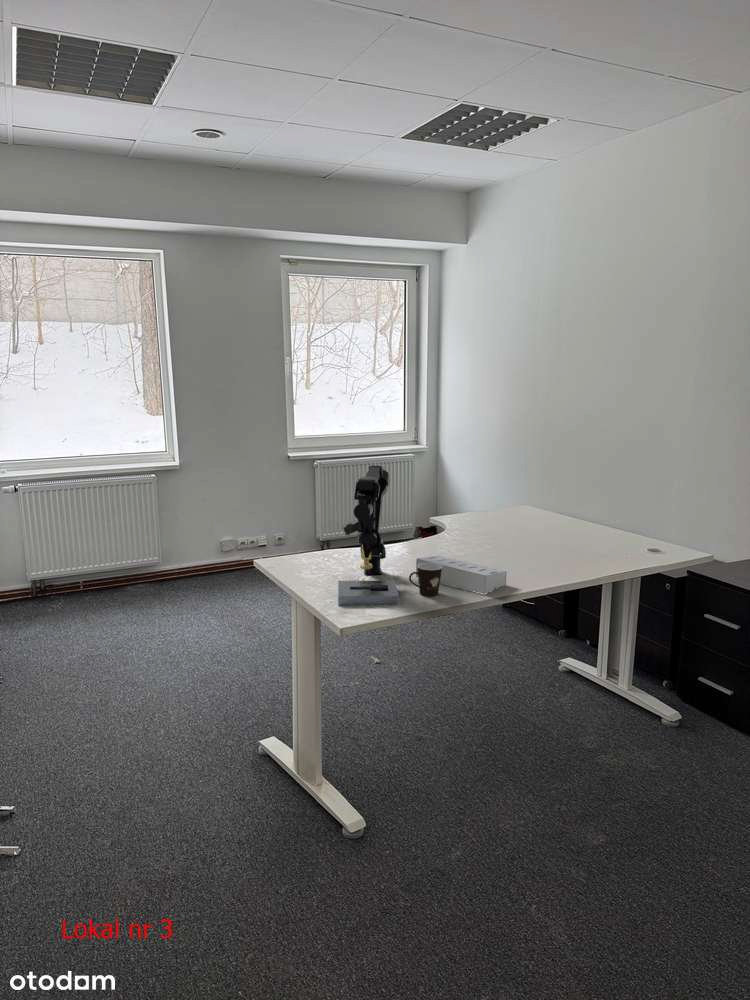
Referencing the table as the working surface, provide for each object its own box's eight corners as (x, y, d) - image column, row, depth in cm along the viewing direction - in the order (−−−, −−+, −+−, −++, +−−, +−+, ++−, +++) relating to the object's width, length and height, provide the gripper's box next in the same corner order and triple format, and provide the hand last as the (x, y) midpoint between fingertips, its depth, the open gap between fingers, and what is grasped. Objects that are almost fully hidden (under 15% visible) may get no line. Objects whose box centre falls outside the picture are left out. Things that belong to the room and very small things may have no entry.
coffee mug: (439, 589, 247) (440, 562, 245) (442, 598, 239) (443, 570, 237) (406, 589, 247) (407, 562, 245) (408, 598, 238) (409, 570, 236)
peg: (360, 565, 252) (360, 540, 250) (372, 565, 252) (372, 540, 250) (360, 569, 248) (360, 543, 246) (372, 569, 248) (373, 543, 246)
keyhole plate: (338, 589, 246) (338, 580, 245) (394, 589, 247) (395, 580, 246) (338, 605, 231) (338, 596, 230) (398, 605, 231) (398, 596, 231)
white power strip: (505, 586, 253) (506, 566, 251) (484, 596, 242) (485, 575, 241) (438, 569, 272) (438, 550, 270) (416, 578, 261) (416, 558, 260)
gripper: (344, 508, 255) (343, 549, 258) (344, 520, 236) (344, 564, 240) (374, 508, 255) (373, 549, 258) (377, 520, 237) (376, 564, 240)
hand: (366, 556), depth 249 cm, fingers closed on peg, 3 cm apart
